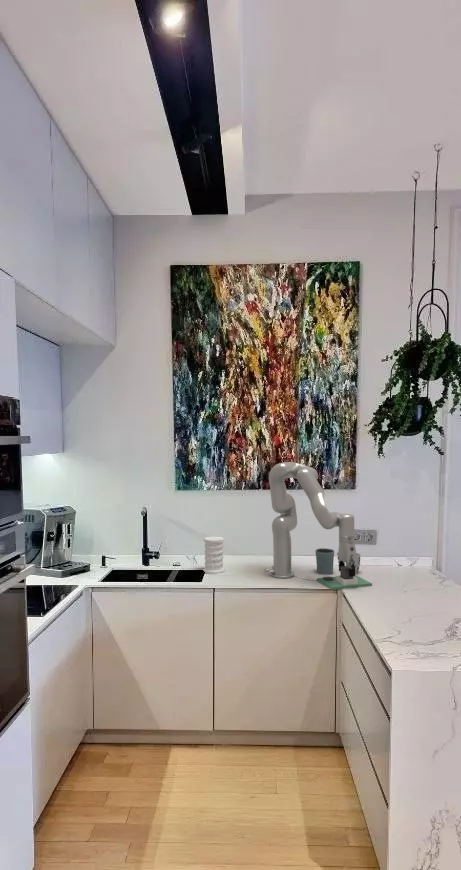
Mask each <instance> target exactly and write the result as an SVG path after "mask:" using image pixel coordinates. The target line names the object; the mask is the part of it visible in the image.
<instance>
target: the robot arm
mask: <svg viewBox="0 0 461 870" xmlns="http://www.w3.org/2000/svg"><path fill="white" fill-rule="evenodd" d="M290 478H291V479H296V480H297V481H298V483H299V485H300V486H301V489H302V490H303V491H304V493H305V495H306V496H307V498H308V500H309V502H310V503H309V504H310V507H311V510H312V513H313V516H314V517H315V518H316V520H317V522H318V524H319V525H320V526H321V528H323V529H326V530H332V529H335V528H337V527H338V551H337V553H336V555H337V556H336V557H337V560H338V561H337V562H338V572H340V566H346V563H347V564H348V565H349V567H350V568H349V577H353V576H355V575H356V574H355V568H356V564H357V560H356V553H357V550H356V549H357V548H356V543H355V516H354V515H353V514H351V513H340V512H336V511H331V512H330V511H329V509H328V508H327V506H326V503H325V491H324V489H323V488H322V486H321V485H320V483H319V482H318V478H319V475H318V471H317V470H316V469H315V468H314V467H311V466H308V465H305V464H301V463H298V462H294V461H285V462H279V463H277V464H275V465H273V467H272V468H271V469H270V471H269V473H268V483H269V489H270V499H271V500H270V501H271V508H272V510H273V512H274V513H277V514H280V515H278V516H276V517H275V518H274V519H273V520H272V523H271V531H272V537H273V538H272V541H273V542H272V543H273V544H272V545H273V549H272V550H273V554H272V555H273V556H272V557H273V559H272V560H273V565H271V567H268V568H267V567H266V568H264V573H269V574H270V575H271V577H273V578H275V579H276V578H277V579H289V578H290V579H291V578H294V577H295V572H294V571H292V537H291V531H294V529H296V527H297V526H298V514H297V506H296V501H295V499H294V497H293V496H292V495H291V494H289V493H288V492H287V485H286V482H285V479H290ZM351 564H352V565H351Z"/></svg>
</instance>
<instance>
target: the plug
mask: <svg viewBox="0 0 461 870" xmlns="http://www.w3.org/2000/svg"><path fill="white" fill-rule="evenodd" d="M349 568H350V567H349V566H346V565H345V566H340V571H339V573H340V575H339V576H340V577H341V578H343V579H344V580H346V579H353V577H349Z"/></svg>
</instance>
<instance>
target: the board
mask: <svg viewBox="0 0 461 870" xmlns="http://www.w3.org/2000/svg"><path fill="white" fill-rule="evenodd" d="M316 582H318V583H320V584H322V585H323V586H325V587H326V588H328V589H330V590H331V591H335V590H345V589H344V588H346V589H354V588H356V589H357V588H362V587H363V588H364V587H365V588H366V587H371V586H372V587H373V583H372V582H370V581H368V580H366V579H364V578H362V577H360V576H359V575H357V574H355V576H353V579H346V580H344V579H343V578H341V577H340V575H335V576H323V577H316Z"/></svg>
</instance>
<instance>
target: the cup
mask: <svg viewBox="0 0 461 870" xmlns="http://www.w3.org/2000/svg"><path fill="white" fill-rule="evenodd" d="M356 560H357V564H356V568H355V575H357V574H359V570H360V565H361V554H360V553H358V552H356ZM351 565H352V564H351ZM345 566H349V565H348V564H347V563H345Z"/></svg>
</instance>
